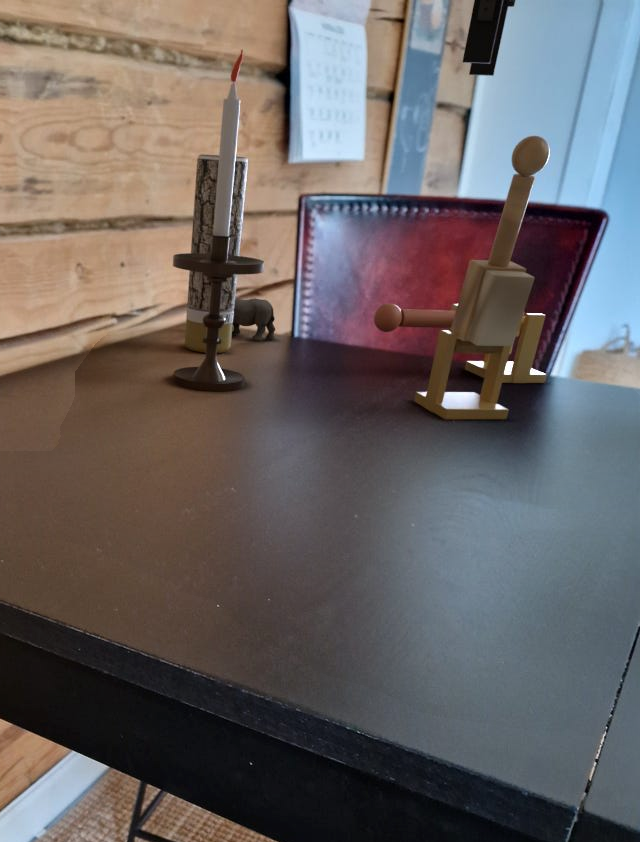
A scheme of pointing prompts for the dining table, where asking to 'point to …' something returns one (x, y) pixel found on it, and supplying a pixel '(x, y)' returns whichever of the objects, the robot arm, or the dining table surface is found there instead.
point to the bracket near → (464, 402)
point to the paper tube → (202, 244)
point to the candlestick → (218, 258)
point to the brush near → (500, 267)
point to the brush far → (418, 318)
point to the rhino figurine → (254, 317)
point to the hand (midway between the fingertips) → (478, 69)
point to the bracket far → (519, 355)
